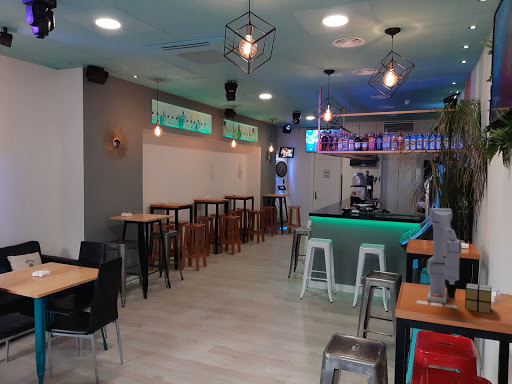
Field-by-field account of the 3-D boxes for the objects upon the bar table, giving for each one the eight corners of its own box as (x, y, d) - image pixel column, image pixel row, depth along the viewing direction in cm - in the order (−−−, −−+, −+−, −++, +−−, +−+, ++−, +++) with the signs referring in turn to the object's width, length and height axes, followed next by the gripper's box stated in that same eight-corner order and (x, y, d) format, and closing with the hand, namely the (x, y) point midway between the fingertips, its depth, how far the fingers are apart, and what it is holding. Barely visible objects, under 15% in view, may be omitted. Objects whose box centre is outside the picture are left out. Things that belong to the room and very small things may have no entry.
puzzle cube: (466, 304, 183) (466, 283, 182) (490, 308, 178) (491, 286, 177) (464, 310, 174) (465, 287, 174) (491, 314, 169) (491, 291, 169)
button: (431, 298, 190) (431, 292, 190) (442, 299, 188) (442, 293, 188) (431, 301, 186) (431, 294, 186) (442, 302, 184) (442, 296, 184)
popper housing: (428, 297, 192) (428, 292, 192) (446, 299, 189) (446, 294, 189) (427, 302, 185) (427, 296, 185) (446, 304, 182) (446, 299, 182)
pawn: (446, 298, 179) (446, 283, 179) (455, 298, 178) (454, 284, 178) (446, 300, 176) (446, 285, 176) (455, 300, 175) (455, 285, 175)
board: (415, 301, 186) (415, 299, 186) (458, 306, 178) (458, 305, 178) (415, 304, 181) (415, 303, 181) (458, 310, 173) (458, 309, 173)
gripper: (442, 263, 185) (441, 291, 185) (442, 269, 172) (441, 299, 172) (459, 264, 182) (458, 293, 182) (460, 270, 169) (459, 301, 169)
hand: (451, 296), depth 177 cm, fingers closed on pawn, 3 cm apart
